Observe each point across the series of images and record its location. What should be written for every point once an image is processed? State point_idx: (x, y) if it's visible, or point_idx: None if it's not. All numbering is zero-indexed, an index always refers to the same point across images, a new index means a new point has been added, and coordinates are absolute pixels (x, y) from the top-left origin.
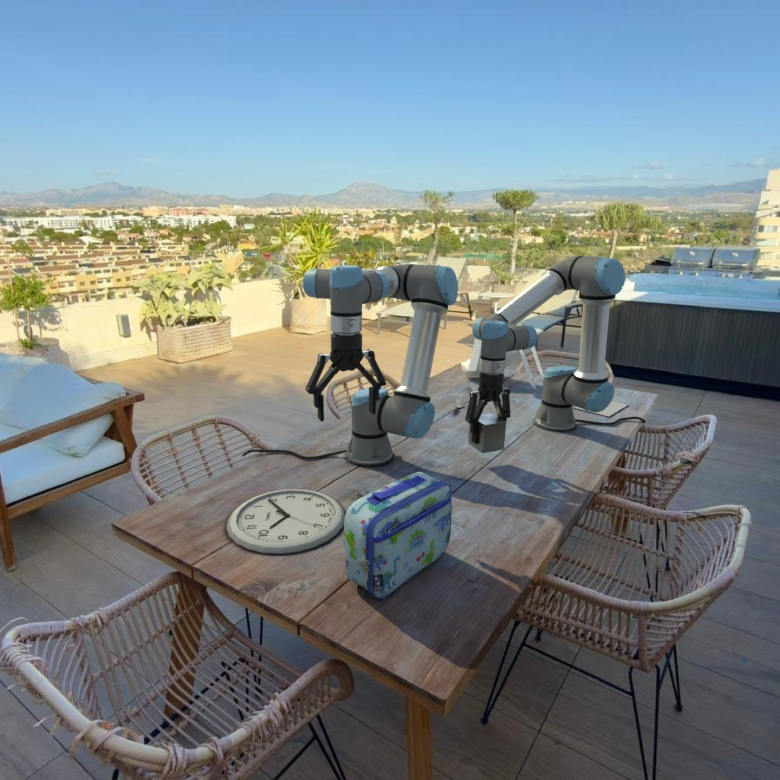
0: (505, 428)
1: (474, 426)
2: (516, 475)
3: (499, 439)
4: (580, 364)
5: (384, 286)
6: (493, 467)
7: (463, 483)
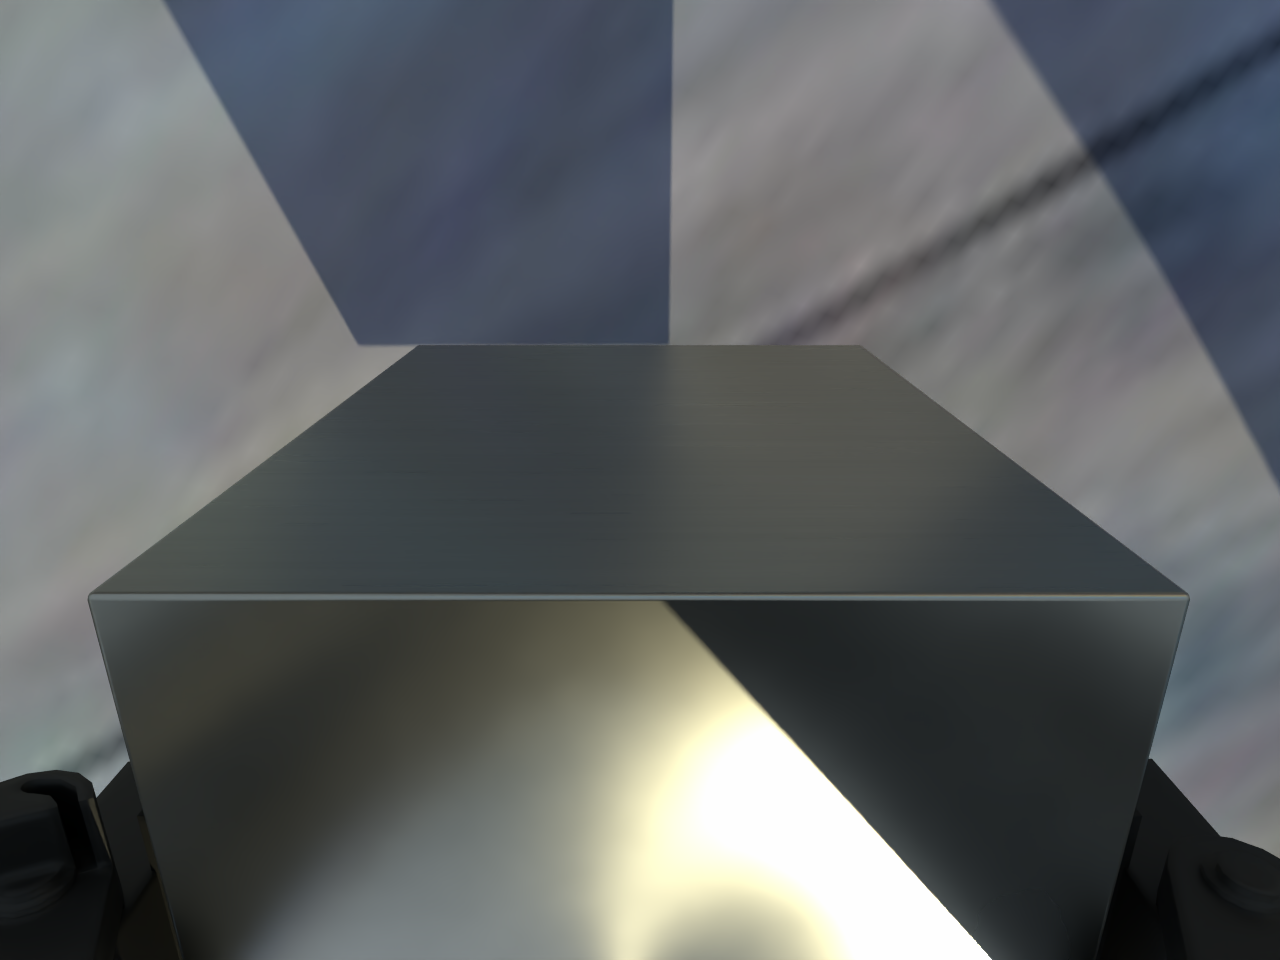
0: (242, 482)
1: (1152, 817)
2: (425, 8)
3: (496, 395)
4: None
5: None
6: (586, 338)
7: (1216, 82)
